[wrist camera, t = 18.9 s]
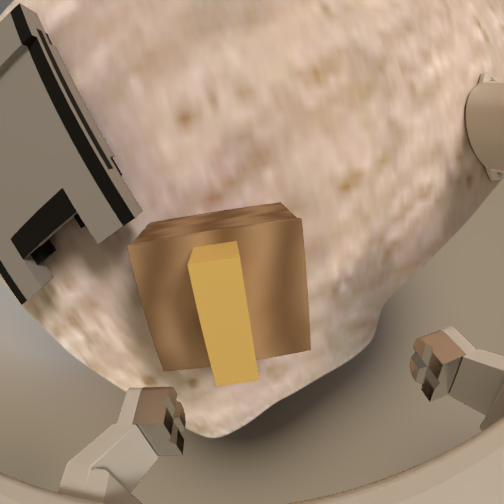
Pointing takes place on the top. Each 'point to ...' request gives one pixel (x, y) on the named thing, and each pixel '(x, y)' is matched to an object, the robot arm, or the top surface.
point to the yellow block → (223, 312)
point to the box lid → (255, 282)
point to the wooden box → (214, 221)
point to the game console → (48, 157)
